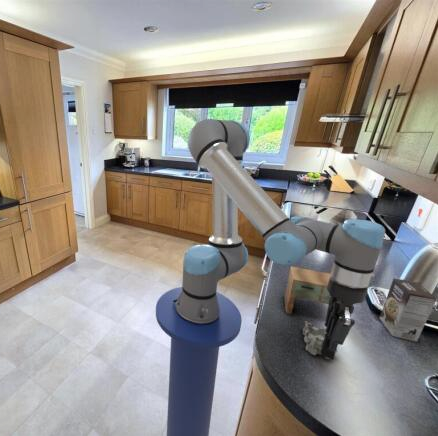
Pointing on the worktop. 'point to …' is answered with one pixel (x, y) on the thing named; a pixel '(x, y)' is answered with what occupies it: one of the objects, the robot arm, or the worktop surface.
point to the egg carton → (314, 338)
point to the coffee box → (406, 309)
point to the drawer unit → (306, 287)
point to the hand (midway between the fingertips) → (326, 355)
